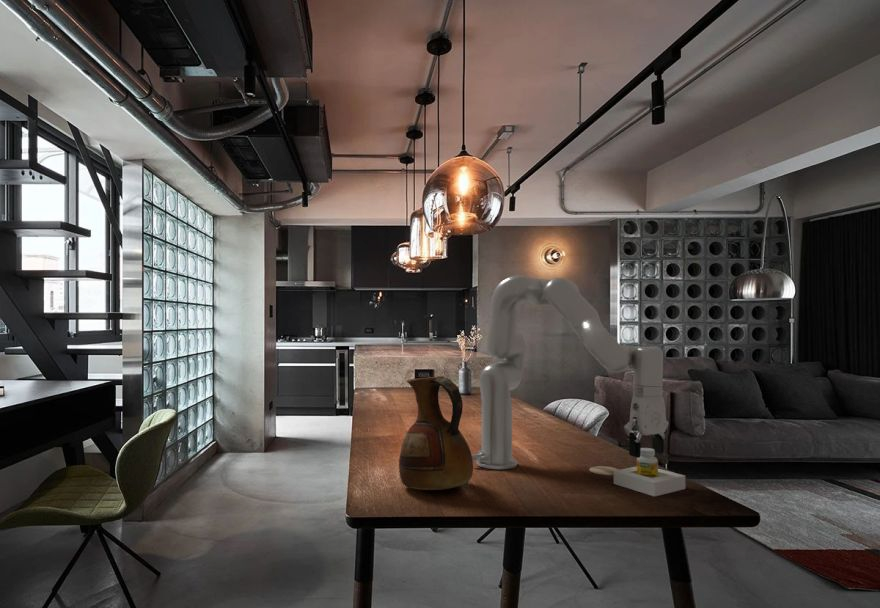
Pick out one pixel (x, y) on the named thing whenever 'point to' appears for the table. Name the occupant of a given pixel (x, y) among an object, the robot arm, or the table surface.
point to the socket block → (650, 481)
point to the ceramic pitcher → (435, 441)
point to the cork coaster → (603, 470)
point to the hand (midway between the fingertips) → (646, 454)
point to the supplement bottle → (647, 463)
